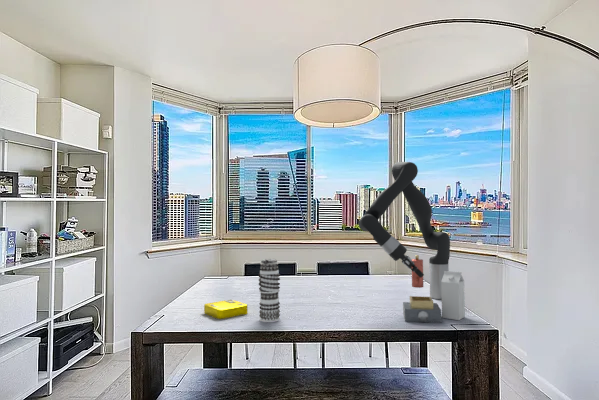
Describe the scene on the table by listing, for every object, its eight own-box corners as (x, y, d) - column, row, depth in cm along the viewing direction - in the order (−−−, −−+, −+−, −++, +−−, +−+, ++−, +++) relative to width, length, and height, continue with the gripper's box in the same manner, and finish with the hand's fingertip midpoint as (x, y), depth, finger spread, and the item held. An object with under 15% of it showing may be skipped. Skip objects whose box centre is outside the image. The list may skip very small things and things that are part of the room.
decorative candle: (260, 323, 164) (260, 261, 165) (256, 317, 173) (256, 258, 174) (283, 321, 167) (282, 260, 167) (277, 315, 176) (277, 257, 176)
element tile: (202, 313, 182) (202, 303, 182) (231, 308, 192) (231, 298, 192) (219, 320, 171) (218, 309, 171) (249, 314, 180) (249, 303, 180)
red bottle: (411, 285, 186) (410, 254, 186) (422, 285, 185) (422, 254, 185) (412, 287, 181) (411, 255, 181) (424, 287, 180) (423, 256, 181)
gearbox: (403, 313, 176) (402, 295, 177) (437, 315, 174) (436, 296, 174) (405, 322, 163) (404, 302, 164) (441, 323, 161) (441, 303, 161)
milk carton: (447, 314, 175) (447, 269, 175) (465, 317, 170) (464, 271, 171) (441, 317, 169) (440, 271, 170) (459, 320, 165) (458, 273, 165)
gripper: (400, 243, 178) (429, 271, 176) (398, 240, 192) (426, 266, 190) (388, 256, 179) (417, 284, 176) (387, 252, 193) (414, 278, 191)
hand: (421, 275), depth 183 cm, fingers closed on red bottle, 5 cm apart
